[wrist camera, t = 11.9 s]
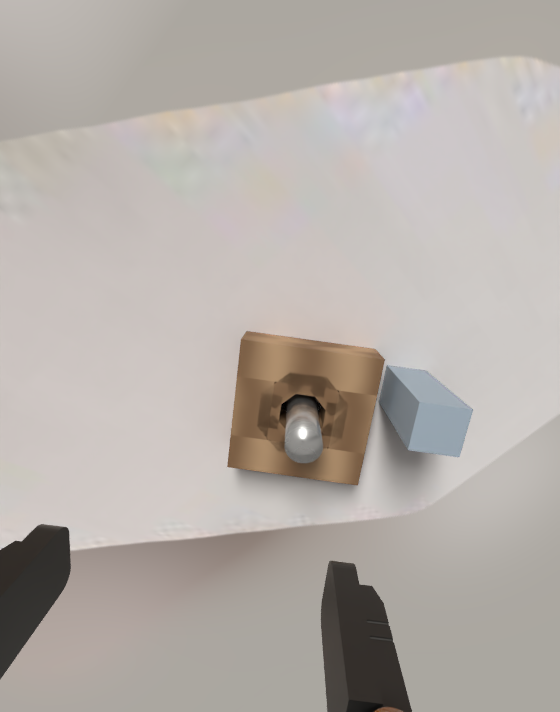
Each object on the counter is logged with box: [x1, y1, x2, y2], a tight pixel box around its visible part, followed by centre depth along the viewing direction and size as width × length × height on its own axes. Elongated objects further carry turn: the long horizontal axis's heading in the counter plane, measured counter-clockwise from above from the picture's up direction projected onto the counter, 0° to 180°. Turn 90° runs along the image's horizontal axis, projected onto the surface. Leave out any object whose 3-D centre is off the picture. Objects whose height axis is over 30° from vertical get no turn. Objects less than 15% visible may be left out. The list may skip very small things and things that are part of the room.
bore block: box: [227, 331, 385, 485], centre depth 36 cm, size 13×13×4 cm
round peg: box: [285, 394, 323, 463], centre depth 33 cm, size 3×3×10 cm
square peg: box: [379, 365, 473, 457], centre depth 32 cm, size 4×4×10 cm
